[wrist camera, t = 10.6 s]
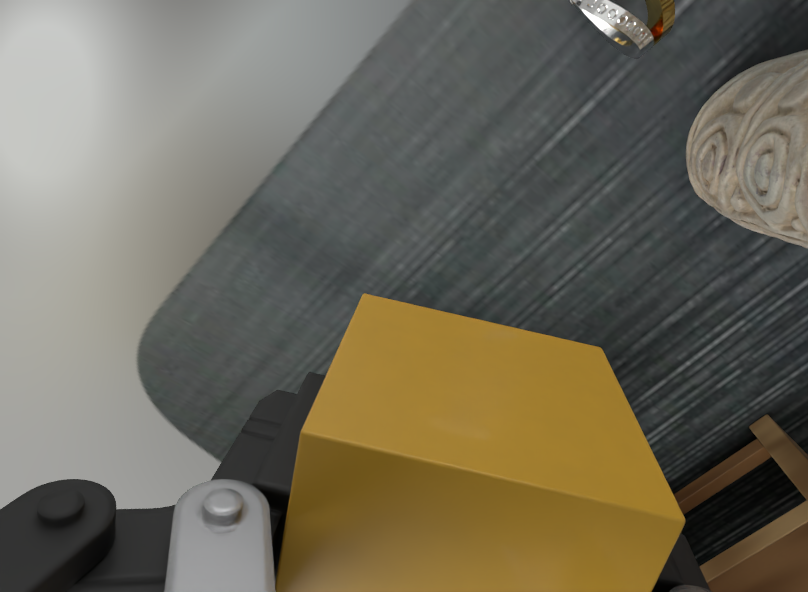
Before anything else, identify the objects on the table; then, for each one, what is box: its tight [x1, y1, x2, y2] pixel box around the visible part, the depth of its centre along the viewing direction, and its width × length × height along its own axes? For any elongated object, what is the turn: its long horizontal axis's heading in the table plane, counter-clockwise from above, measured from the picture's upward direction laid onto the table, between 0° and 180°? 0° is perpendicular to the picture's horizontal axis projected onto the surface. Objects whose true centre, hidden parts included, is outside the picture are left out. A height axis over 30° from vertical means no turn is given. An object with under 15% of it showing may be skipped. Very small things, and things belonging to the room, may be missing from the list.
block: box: [275, 294, 685, 592], centre depth 11 cm, size 5×5×5 cm
